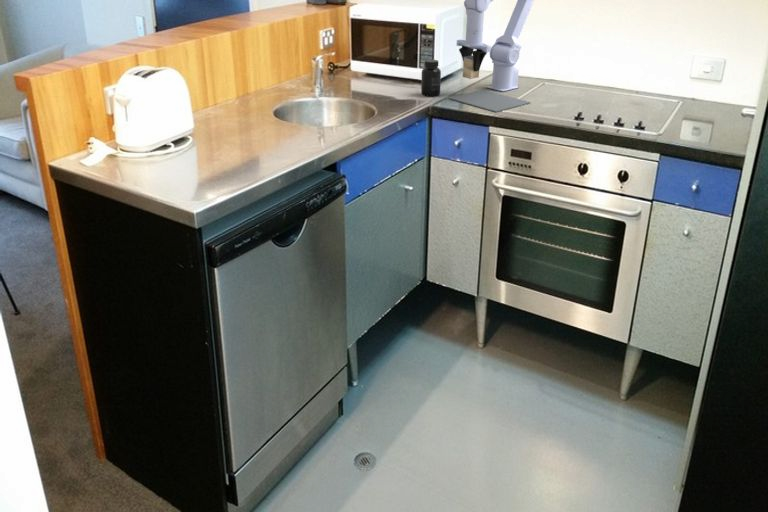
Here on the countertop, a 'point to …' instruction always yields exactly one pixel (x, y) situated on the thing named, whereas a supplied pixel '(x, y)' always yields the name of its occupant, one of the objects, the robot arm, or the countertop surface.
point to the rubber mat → (489, 100)
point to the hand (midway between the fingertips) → (471, 69)
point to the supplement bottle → (431, 79)
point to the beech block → (469, 68)
